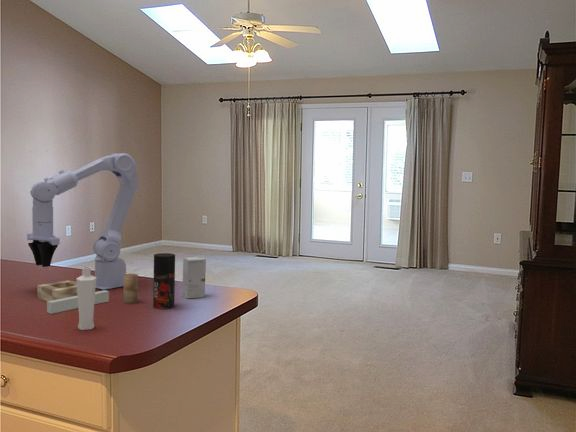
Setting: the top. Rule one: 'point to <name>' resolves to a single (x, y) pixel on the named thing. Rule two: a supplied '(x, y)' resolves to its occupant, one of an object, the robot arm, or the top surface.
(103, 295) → the backstop wall
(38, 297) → the socket block
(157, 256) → the deodorant
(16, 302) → the top surface
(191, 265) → the skincare box
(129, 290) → the oak dowel
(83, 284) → the white pump bottle
